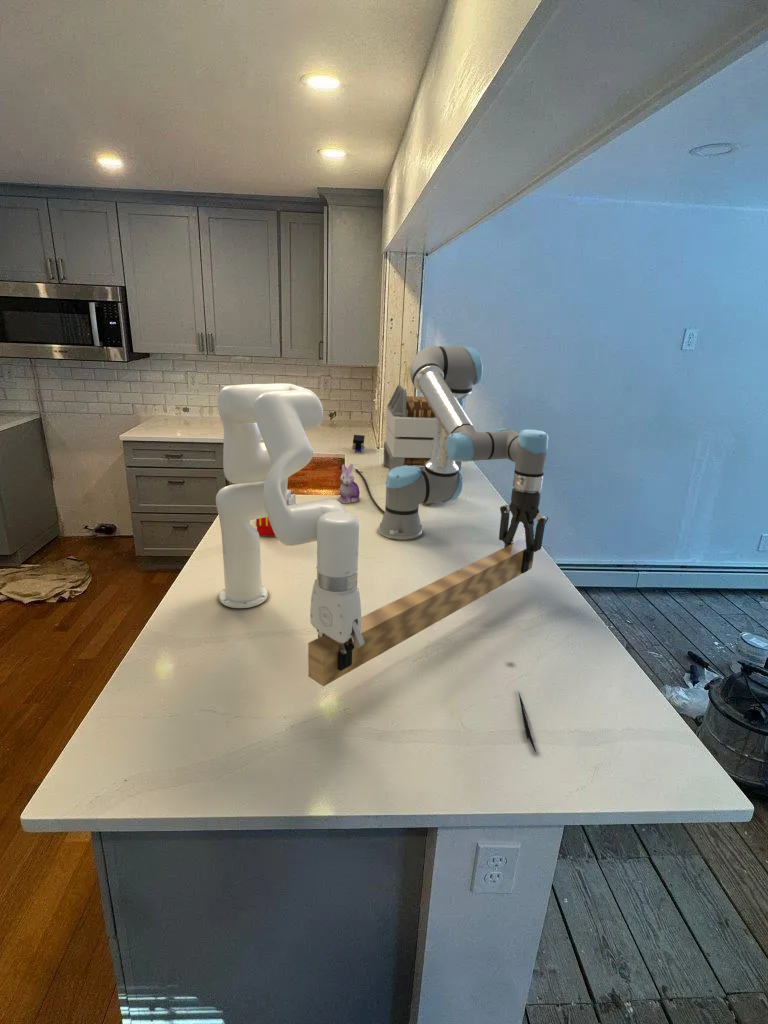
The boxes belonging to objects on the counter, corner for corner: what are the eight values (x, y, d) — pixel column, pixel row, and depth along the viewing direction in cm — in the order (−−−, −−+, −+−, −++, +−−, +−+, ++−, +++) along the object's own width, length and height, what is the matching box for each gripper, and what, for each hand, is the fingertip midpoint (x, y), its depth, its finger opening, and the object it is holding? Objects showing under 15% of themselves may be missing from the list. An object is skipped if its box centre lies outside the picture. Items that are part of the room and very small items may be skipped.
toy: (297, 484, 217) (286, 498, 188) (297, 518, 220) (286, 537, 190) (265, 483, 217) (250, 497, 187) (266, 517, 219) (250, 537, 190)
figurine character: (364, 456, 306) (364, 446, 320) (364, 442, 303) (365, 433, 317) (351, 455, 306) (352, 446, 320) (352, 442, 303) (353, 433, 316)
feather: (511, 668, 129) (516, 662, 128) (535, 756, 102) (542, 749, 102) (505, 664, 129) (510, 658, 128) (527, 751, 102) (534, 744, 101)
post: (518, 563, 164) (521, 539, 161) (531, 568, 161) (535, 543, 158) (308, 676, 110) (308, 642, 107) (323, 686, 107) (323, 652, 104)
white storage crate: (382, 463, 289) (386, 382, 275) (445, 464, 293) (451, 384, 279) (390, 482, 257) (394, 392, 243) (460, 483, 261) (468, 394, 247)
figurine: (343, 505, 225) (344, 468, 220) (333, 497, 234) (334, 462, 229) (364, 502, 230) (366, 466, 225) (354, 495, 238) (355, 460, 233)
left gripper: (292, 568, 108) (293, 651, 114) (354, 601, 97) (351, 690, 103) (322, 558, 113) (322, 637, 119) (384, 587, 102) (380, 672, 108)
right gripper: (491, 484, 154) (482, 562, 161) (550, 500, 142) (537, 583, 150) (505, 479, 159) (496, 555, 167) (563, 494, 148) (551, 575, 155)
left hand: (335, 660), depth 111 cm, fingers closed on post, 4 cm apart
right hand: (516, 568), depth 158 cm, fingers closed on post, 4 cm apart
